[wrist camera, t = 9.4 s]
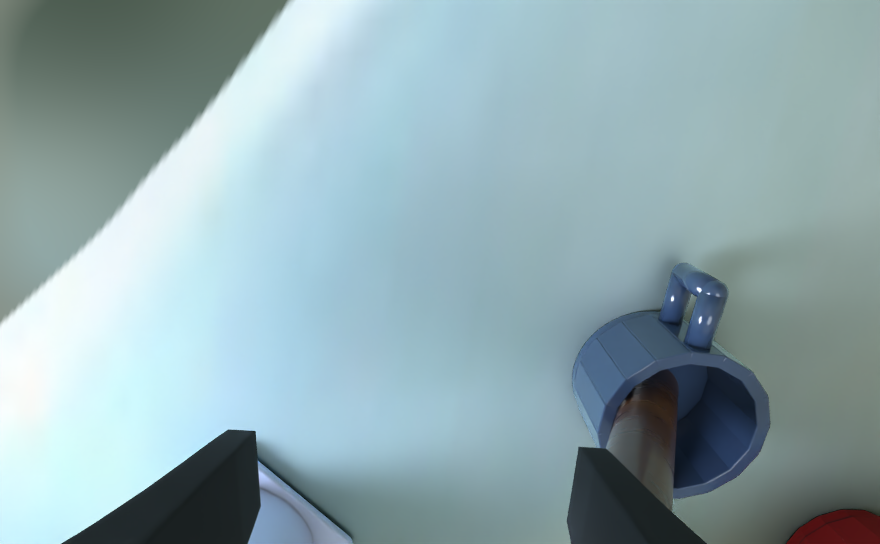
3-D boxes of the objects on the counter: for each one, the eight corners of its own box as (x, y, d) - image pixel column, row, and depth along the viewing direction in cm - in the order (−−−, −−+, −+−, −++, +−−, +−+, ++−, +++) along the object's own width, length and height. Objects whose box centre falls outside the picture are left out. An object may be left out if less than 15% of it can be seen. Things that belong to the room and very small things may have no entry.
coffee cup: (689, 441, 23) (739, 507, 19) (559, 425, 22) (582, 488, 19) (748, 266, 20) (820, 299, 16) (602, 246, 20) (639, 276, 16)
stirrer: (647, 415, 21) (617, 581, 12) (618, 377, 21) (567, 512, 12) (689, 394, 20) (689, 555, 11) (657, 354, 20) (633, 481, 12)
